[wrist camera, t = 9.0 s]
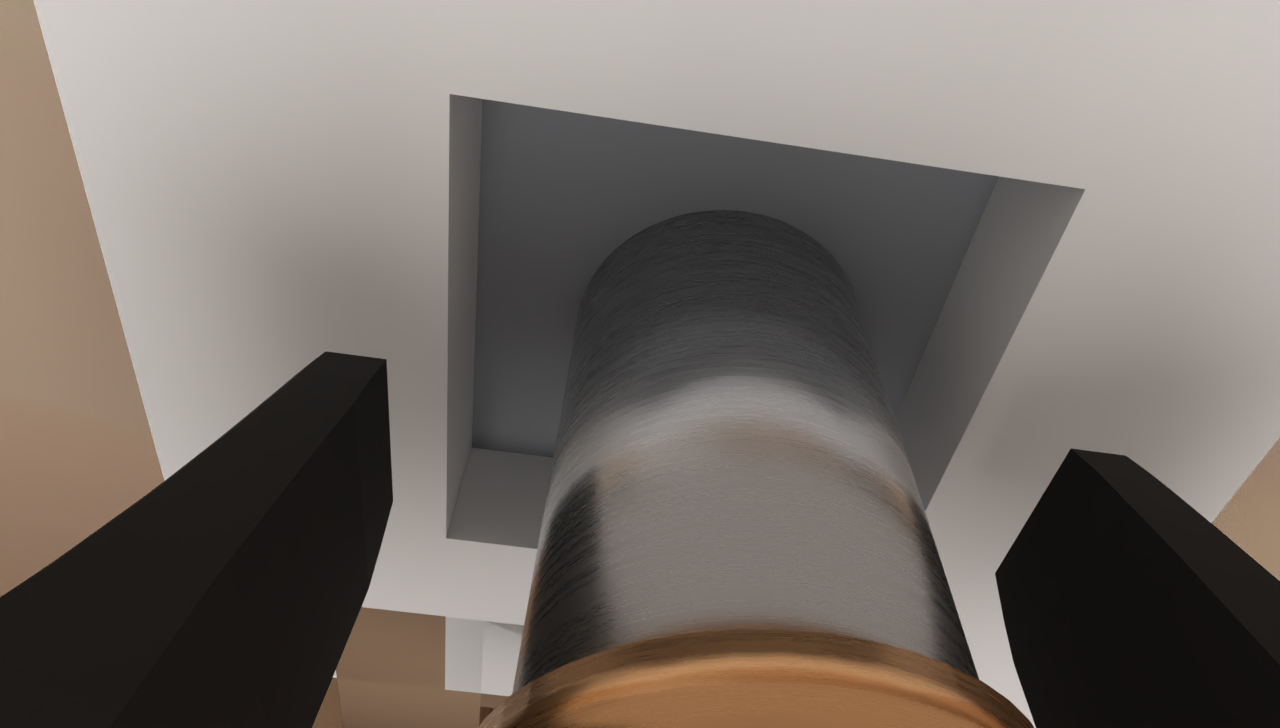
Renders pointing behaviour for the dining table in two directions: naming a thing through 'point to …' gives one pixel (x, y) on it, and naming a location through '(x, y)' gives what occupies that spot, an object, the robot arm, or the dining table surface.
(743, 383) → the pin
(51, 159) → the dining table surface
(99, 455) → the dining table surface
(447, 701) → the mount block
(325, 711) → the dining table surface
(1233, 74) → the dock plate
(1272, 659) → the robot arm
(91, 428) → the dining table surface
